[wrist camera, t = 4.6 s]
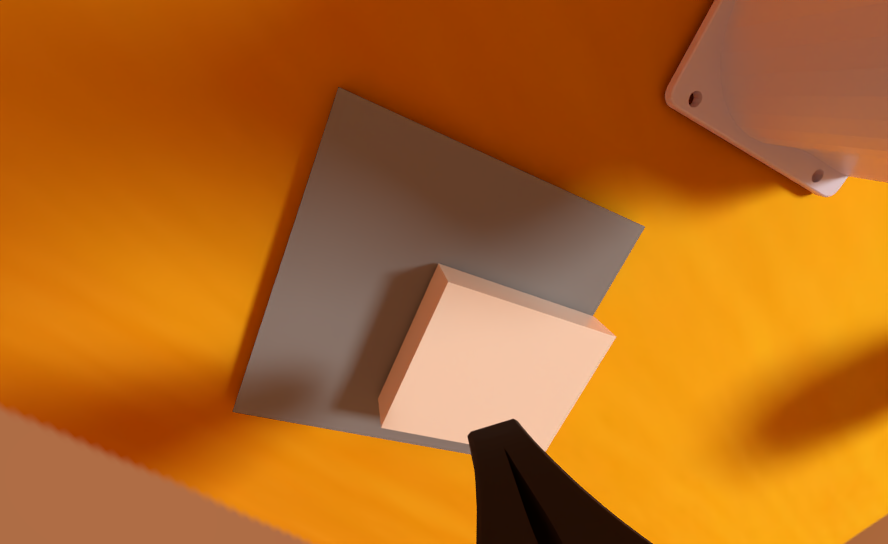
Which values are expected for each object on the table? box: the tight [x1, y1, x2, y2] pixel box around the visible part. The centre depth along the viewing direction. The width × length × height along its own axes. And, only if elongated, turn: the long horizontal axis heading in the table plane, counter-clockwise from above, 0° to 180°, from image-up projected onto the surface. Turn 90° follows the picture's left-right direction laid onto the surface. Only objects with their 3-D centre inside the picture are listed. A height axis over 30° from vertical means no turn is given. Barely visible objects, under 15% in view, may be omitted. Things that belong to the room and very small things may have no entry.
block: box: [378, 263, 616, 451], centre depth 16 cm, size 2×6×7 cm
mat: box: [233, 87, 645, 454], centre depth 16 cm, size 12×12×1 cm
